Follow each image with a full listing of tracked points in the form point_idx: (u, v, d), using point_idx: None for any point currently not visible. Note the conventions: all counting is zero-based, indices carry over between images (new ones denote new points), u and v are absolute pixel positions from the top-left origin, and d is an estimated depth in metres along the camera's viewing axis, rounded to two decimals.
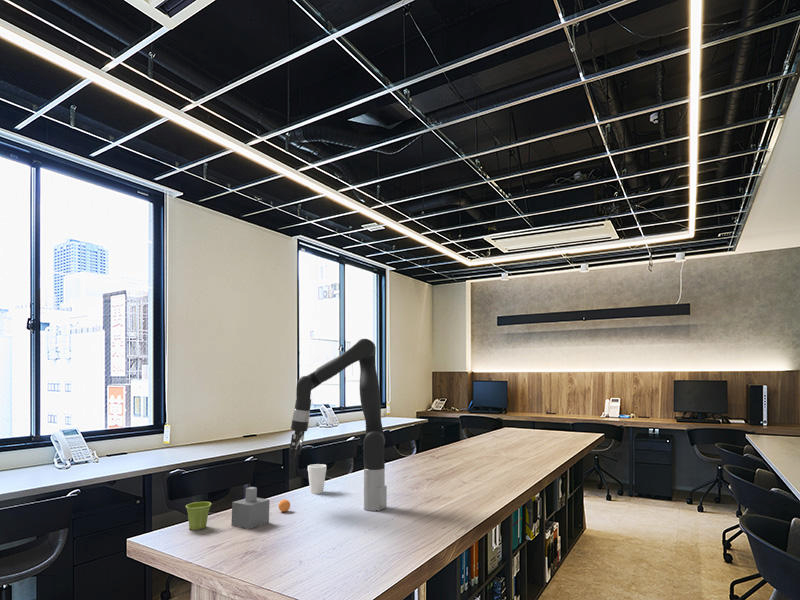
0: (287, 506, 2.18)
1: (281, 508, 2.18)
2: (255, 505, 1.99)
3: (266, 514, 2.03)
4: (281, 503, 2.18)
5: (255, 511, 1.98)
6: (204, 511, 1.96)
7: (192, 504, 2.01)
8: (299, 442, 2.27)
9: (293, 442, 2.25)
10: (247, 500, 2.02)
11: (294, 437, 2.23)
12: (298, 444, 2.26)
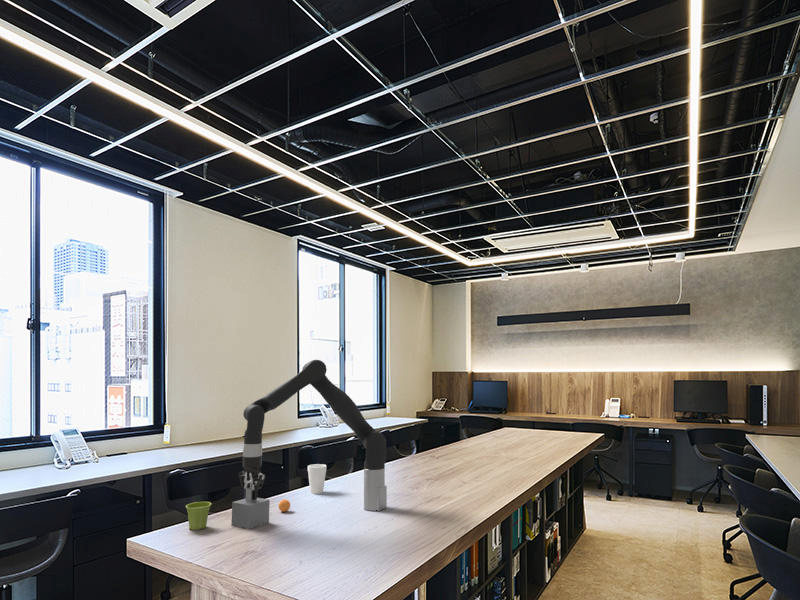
0: (287, 506, 2.18)
1: (281, 508, 2.18)
2: (255, 505, 1.99)
3: (266, 514, 2.03)
4: (281, 503, 2.18)
5: (255, 511, 1.98)
6: (204, 511, 1.96)
7: (192, 504, 2.01)
8: (257, 479, 2.05)
9: (254, 482, 2.03)
10: (247, 500, 2.02)
11: (262, 478, 2.02)
12: None
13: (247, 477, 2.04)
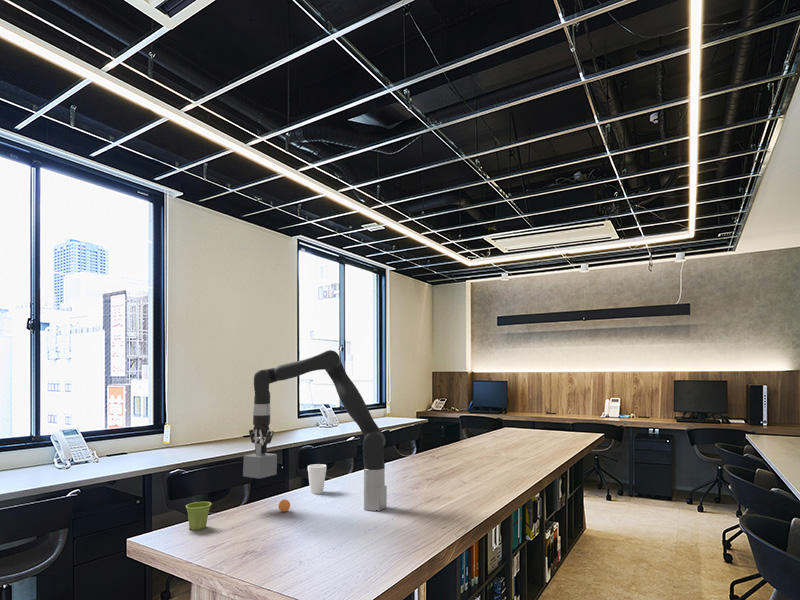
0: (287, 506, 2.18)
1: (281, 508, 2.18)
2: (264, 458, 2.22)
3: (274, 467, 2.26)
4: (281, 503, 2.18)
5: (264, 463, 2.22)
6: (204, 511, 1.96)
7: (192, 504, 2.01)
8: None
9: (263, 438, 2.26)
10: (257, 454, 2.26)
11: (271, 434, 2.25)
12: None
13: (257, 434, 2.27)
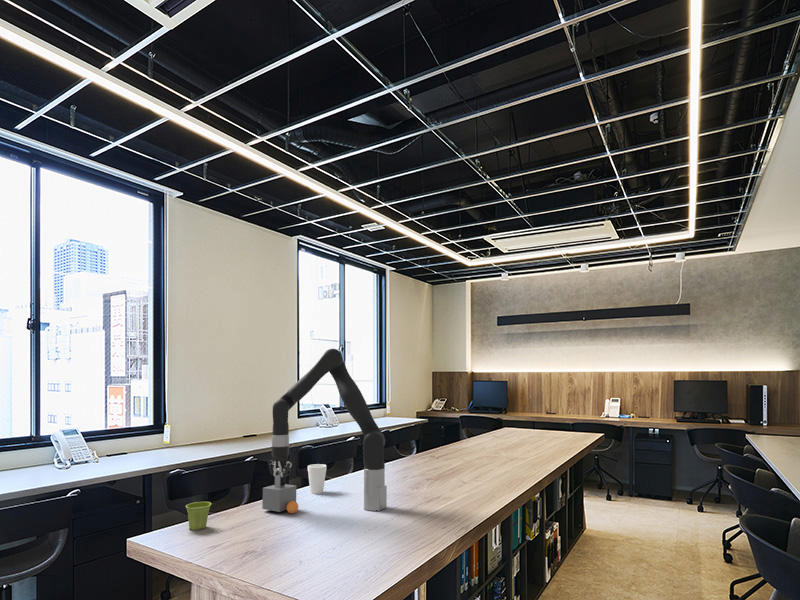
0: None
1: (287, 509, 2.16)
2: (284, 490, 2.18)
3: (293, 499, 2.23)
4: (291, 510, 2.15)
5: (284, 495, 2.18)
6: (204, 511, 1.96)
7: (192, 504, 2.01)
8: None
9: (283, 470, 2.22)
10: (276, 486, 2.22)
11: (290, 466, 2.21)
12: None
13: (276, 465, 2.24)
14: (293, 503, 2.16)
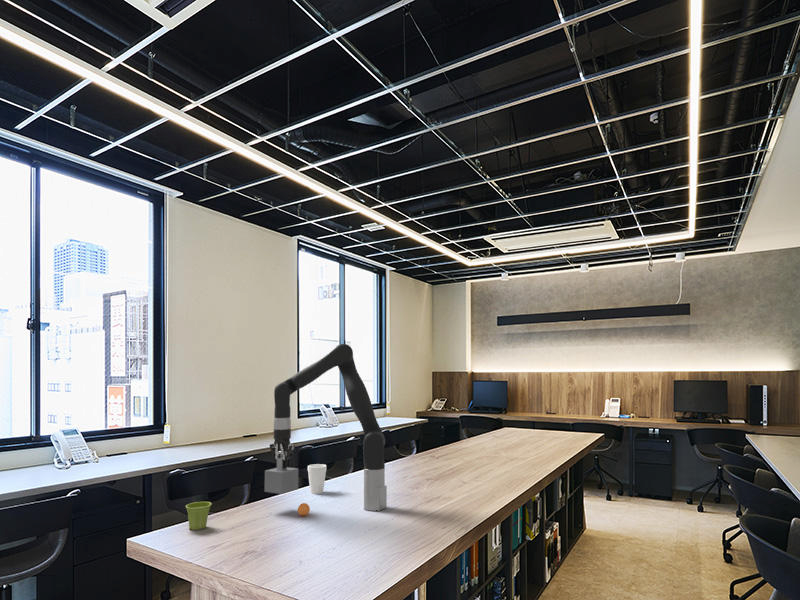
0: (302, 503, 2.14)
1: (300, 509, 2.12)
2: (286, 472, 2.18)
3: (296, 481, 2.23)
4: (298, 509, 2.13)
5: (286, 478, 2.18)
6: (204, 511, 1.96)
7: (192, 504, 2.01)
8: None
9: (285, 453, 2.22)
10: (278, 469, 2.22)
11: (292, 448, 2.21)
12: None
13: (278, 448, 2.24)
14: None
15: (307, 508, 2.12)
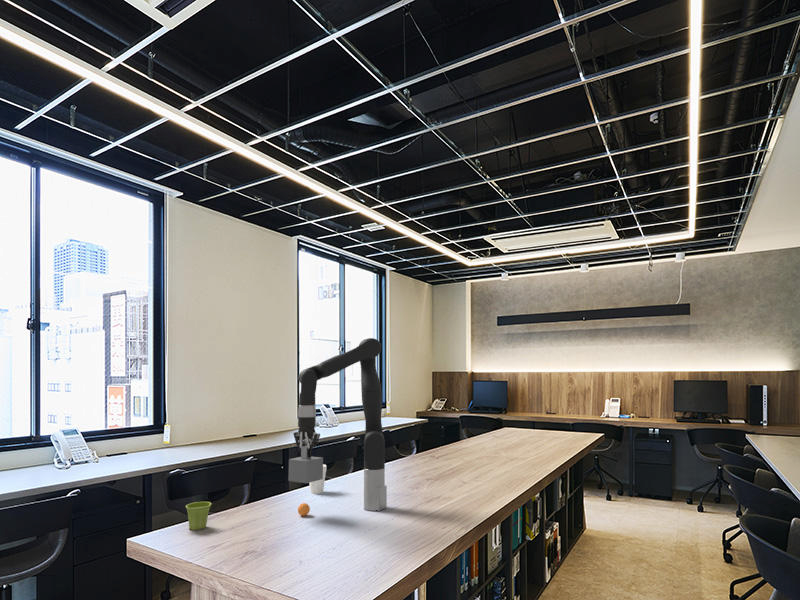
0: (302, 503, 2.14)
1: (300, 509, 2.12)
2: (311, 461, 2.12)
3: (320, 471, 2.16)
4: (298, 509, 2.13)
5: (311, 467, 2.12)
6: (204, 511, 1.96)
7: (192, 504, 2.01)
8: None
9: (309, 441, 2.16)
10: (303, 457, 2.16)
11: (317, 437, 2.15)
12: (312, 441, 2.18)
13: (302, 436, 2.17)
14: None
15: (307, 508, 2.12)
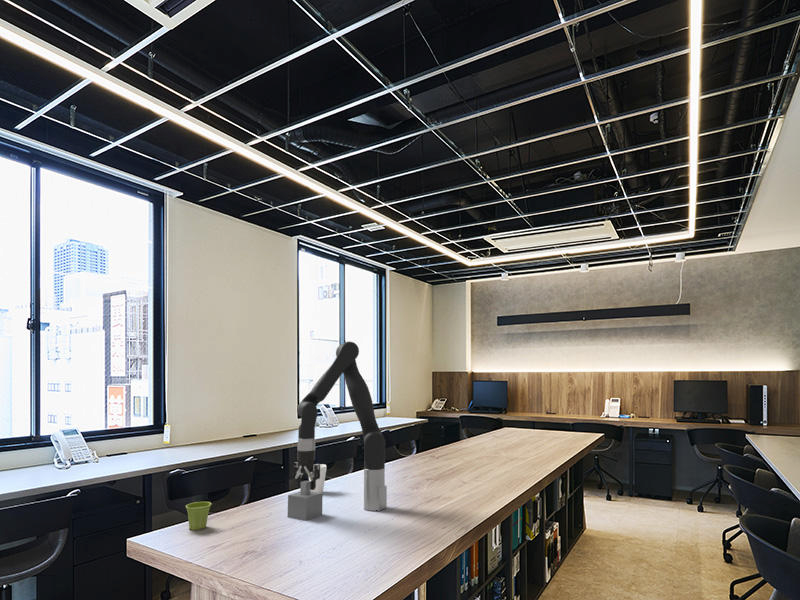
0: None
1: None
2: (310, 498, 2.10)
3: (320, 506, 2.14)
4: None
5: (310, 503, 2.10)
6: (204, 511, 1.96)
7: (192, 504, 2.01)
8: None
9: (311, 474, 2.13)
10: (302, 493, 2.13)
11: (318, 468, 2.13)
12: (314, 474, 2.15)
13: (300, 470, 2.16)
14: None
15: None
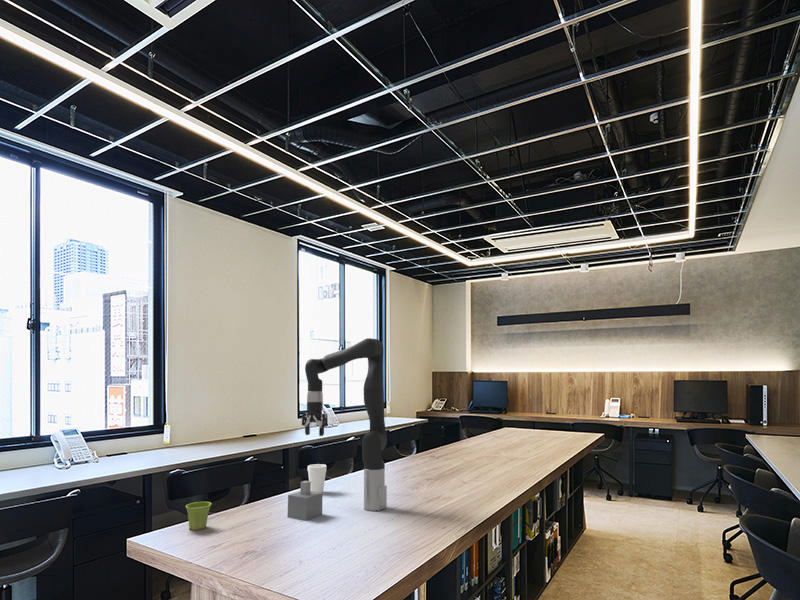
0: None
1: None
2: (310, 498, 2.10)
3: (320, 506, 2.14)
4: None
5: (310, 503, 2.10)
6: (204, 511, 1.96)
7: (192, 504, 2.01)
8: None
9: (319, 421, 2.39)
10: (302, 493, 2.13)
11: (325, 416, 2.39)
12: (322, 422, 2.42)
13: (309, 419, 2.42)
14: None
15: None
